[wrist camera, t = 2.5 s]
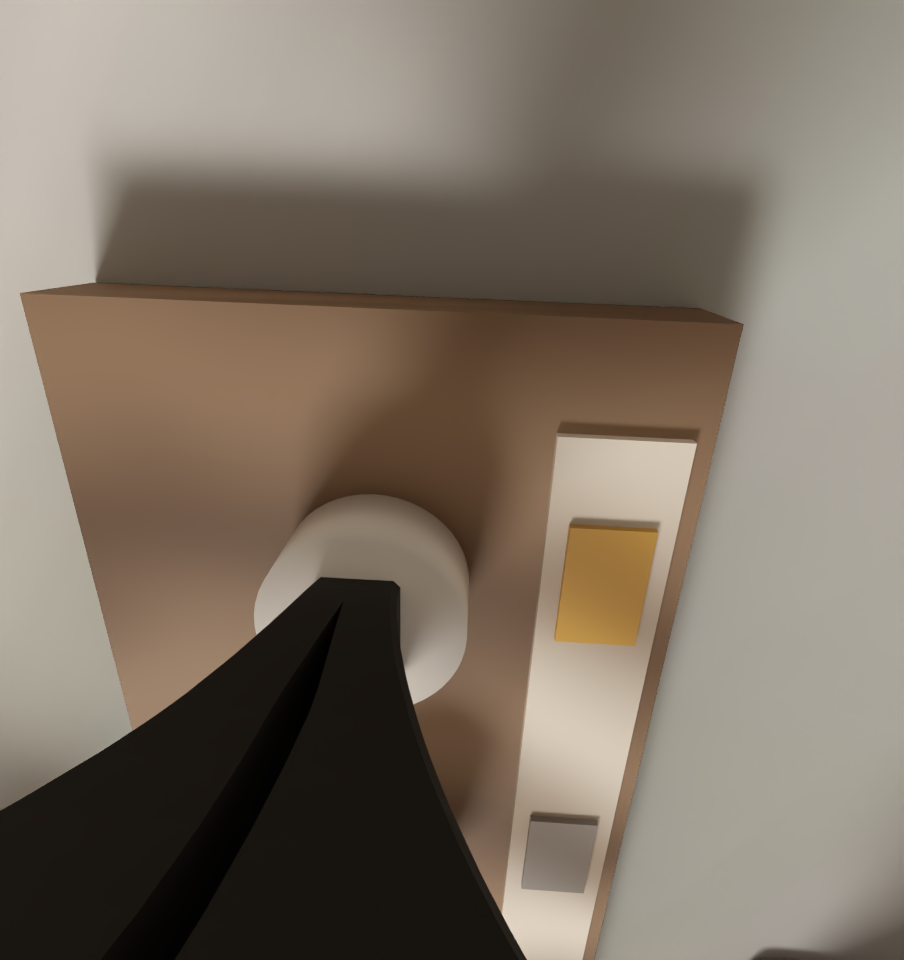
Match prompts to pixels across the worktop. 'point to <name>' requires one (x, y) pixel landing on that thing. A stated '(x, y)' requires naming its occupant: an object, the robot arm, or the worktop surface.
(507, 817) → the button board
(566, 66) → the worktop surface
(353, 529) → the button
